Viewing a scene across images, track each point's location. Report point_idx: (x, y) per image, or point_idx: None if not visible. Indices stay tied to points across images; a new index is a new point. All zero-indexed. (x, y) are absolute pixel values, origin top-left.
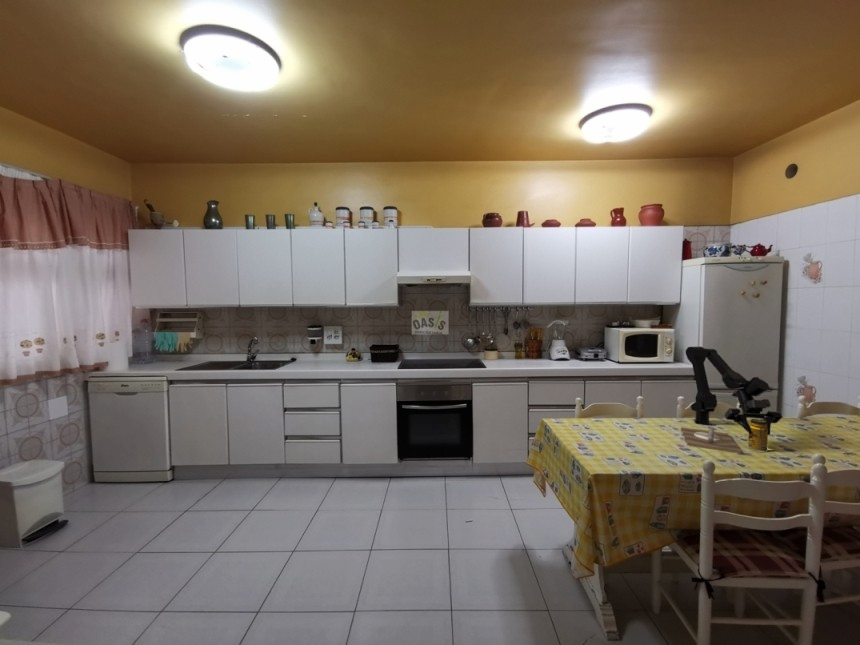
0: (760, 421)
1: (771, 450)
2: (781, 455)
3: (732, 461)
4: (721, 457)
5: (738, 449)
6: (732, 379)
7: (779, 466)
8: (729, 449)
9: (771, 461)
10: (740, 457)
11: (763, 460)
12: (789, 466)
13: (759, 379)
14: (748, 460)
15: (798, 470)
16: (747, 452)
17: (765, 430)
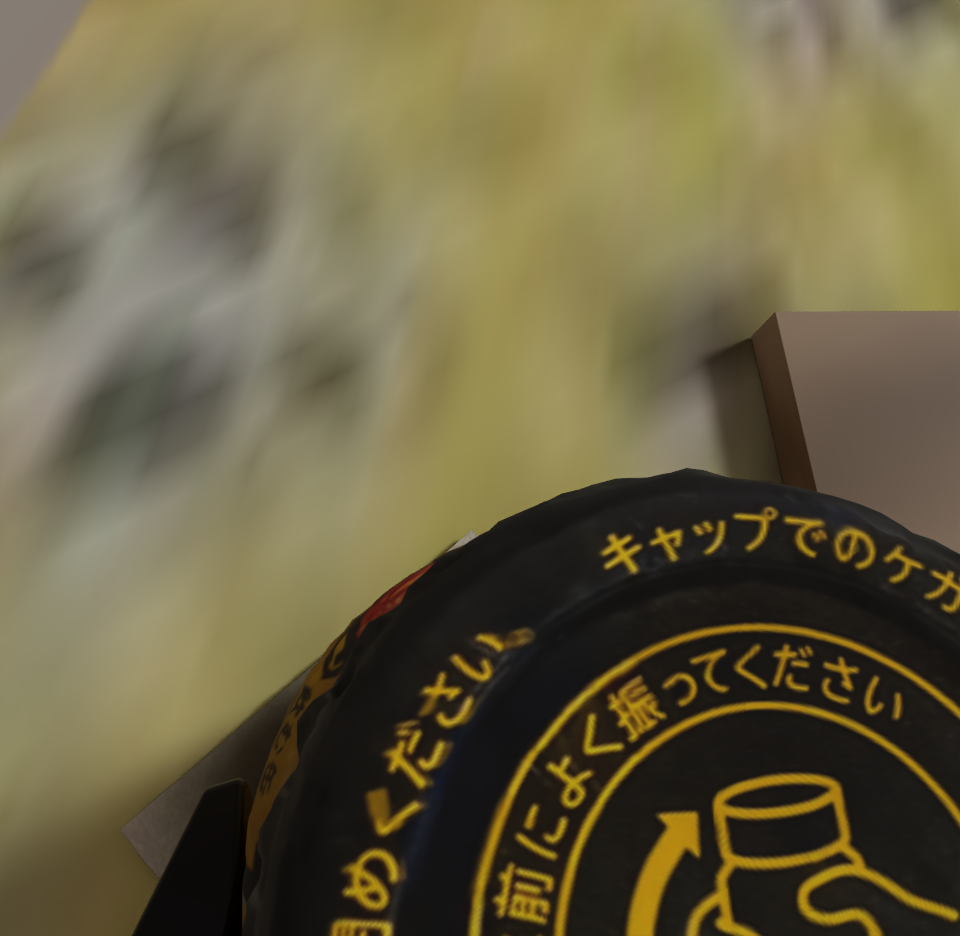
0: (671, 861)
1: (243, 743)
2: (138, 558)
3: (824, 9)
4: (934, 81)
5: (798, 340)
6: None
7: (339, 51)
8: (901, 318)
9: (392, 187)
10: (747, 170)
11: (488, 181)
12: (206, 98)
13: None
14: (665, 106)
15: (142, 7)
16: (654, 429)
17: (389, 593)
